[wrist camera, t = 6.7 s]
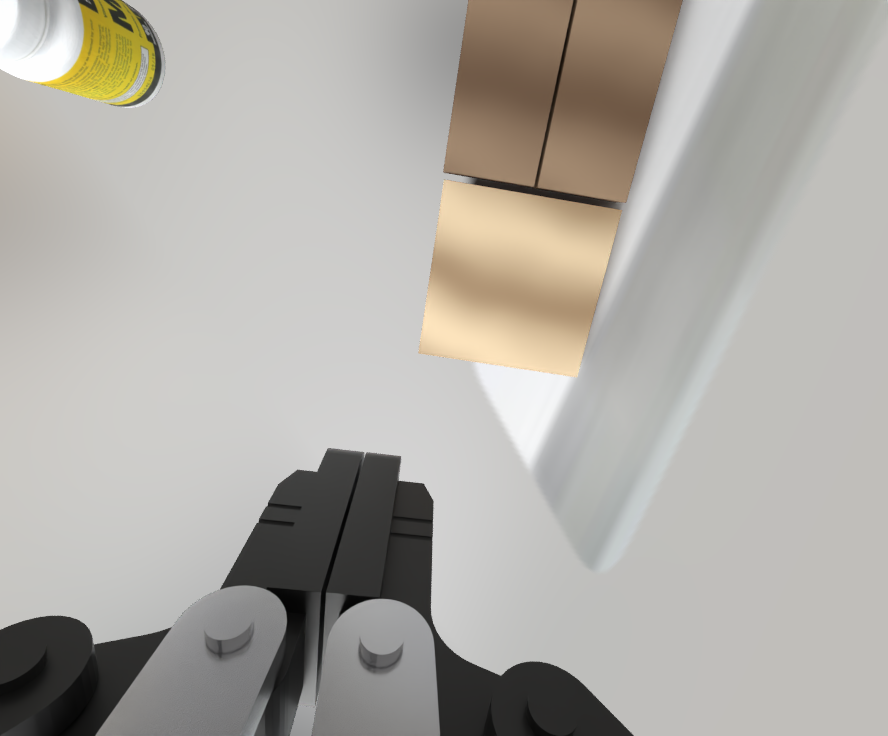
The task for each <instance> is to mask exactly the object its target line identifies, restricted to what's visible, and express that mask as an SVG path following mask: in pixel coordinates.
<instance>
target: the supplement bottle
mask: <svg viewBox="0 0 888 736" xmlns="http://www.w3.org/2000/svg"><path fill="white" fill-rule="evenodd" d="M0 69H2V70H4V71H5V72H7V73H9V74H11V75H14V76H16V77H18V78H21V79H23V80H27V81H30V82H34V83H38V84H41V85H45V86H48V87H52V88H55V89H59V90H63V91H66V92H70V93H73V94H76V95H80V96H83V97H87V98H90V99H93V100H96V101H100V102H104V103H107V104H110V105H114V106H119V107H125V108H134V107H139V106H142V105H144V104H146V103H148V102H149V101H151V100H152V99H153V98H154V97H155V96H156V95H157V93H158V92H159V90H160V88H161V86H162V84H163V80H164V75H165V57H164V52H163V48H162V45H161V43H160V40H159V38H158V36H157V34H156V32H155V31H154V29H153V27H152V26H151V25H150V24H149V22H148V21H147V20H146V19H145V18H144V17H143V16H142V15H141V14H140V13H139V12H138V11H137V10H135V9H134V8H133V7H131V6H130V5H128V4H126V3H125V2H124V1H122V0H0Z"/></svg>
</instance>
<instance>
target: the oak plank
mask: <svg viewBox="0 0 888 736" xmlns="http://www.w3.org/2000/svg"><path fill="white" fill-rule="evenodd" d="M621 213H622V210H618V209H612V208H606V207H601V206H595V205H589V204H583V203H577V202H572V201H566V200H560V199H554V198H548V197H543V196H537V195H531V194H525V193H519V192H514V191H508V190H502V189H496V188H490V187H485V186H479V185H473V184H467V183H461V182H456V181H450V180H444V184H443V191H442V197H441V204H440V212H439V218H438V224H437V232H436V238H435V245H434V252H433V258H432V265H431V272H430V278H429V285H428V292H427V299H426V305H425V312H424V319H423V326H422V333H421V339H420V346H419V354H426V355H433V356H439V357H446V358H453V359H459V360H466V361H472V362H479V363H486V364H492V365H499V366H506V367H512V368H519V369H525V370H532V371H539V372H545V373H552V374H559V375H565V376H572V377H577V375H578V371H579V368H580V364H581V360H582V357H583V353H584V349H585V346H586V342H587V338H588V335H589V331H590V327H591V323H592V320H593V316H594V312H595V309H596V305H597V301H598V298H599V294H600V290H601V286H602V283H603V279H604V275H605V272H606V268H607V264H608V261H609V257H610V253H611V250H612V246H613V242H614V238H615V235H616V231H617V227H618V224H619V220H620V216H621Z"/></svg>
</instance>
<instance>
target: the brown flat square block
mask: <svg viewBox="0 0 888 736" xmlns="http://www.w3.org/2000/svg"><path fill="white" fill-rule="evenodd" d="M682 1H683V0H468V7H467V14H466V20H465V27H464V34H463V41H462V48H461V54H460V61H459V68H458V75H457V82H456V89H455V95H454V102H453V109H452V116H451V123H450V130H449V136H448V143H447V150H446V157H445V164H444V171H443V172H444V173H449V174H455V175H461V176H466V177H472V178H478V179H484V180H489V181H495V182H501V183H507V184H513V185H518V186H524V187H532V188H536V189H541V190H547V191H553V192H559V193H565V194H570V195H576V196H582V197H588V198H593V199H599V200H605V201H611V202H621V203H626V201H627V198H628V194H629V191H630V187H631V183H632V180H633V176H634V173H635V169H636V166H637V162H638V158H639V155H640V151H641V148H642V144H643V141H644V137H645V133H646V130H647V126H648V123H649V119H650V115H651V112H652V108H653V105H654V101H655V98H656V94H657V90H658V87H659V83H660V80H661V76H662V73H663V69H664V65H665V62H666V58H667V55H668V51H669V47H670V44H671V40H672V37H673V33H674V30H675V26H676V22H677V19H678V15H679V12H680V8H681V5H682Z"/></svg>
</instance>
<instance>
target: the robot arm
mask: <svg viewBox="0 0 888 736" xmlns="http://www.w3.org/2000/svg"><path fill="white" fill-rule="evenodd" d="M400 463H401V456H393V455H385V454H377V453H366V455H365V458H364V452H358V451H349V450H340V449H331V448H328V449H327V451H326V453H325V456H324V458H323V460H322V462H321V465H320V467H319V469H318V472H313V471H304V470H297V471H296V472H294V473H293V474H291V475H290V476H289V477H288V478H286V479H285V480H283V481H282V482H281V483H280V484H278V486H277V488H276V490H275V491H274V493H273V495H272V497H271V499H270V500H269V502H268V506H267V507H266V508H265V510H264V511H263V513H262V515H261V517H260V518H259V523H257V524H256V526H255V527H254V529H253V531H252V533H251V535H250V536H249V538H248V540H247V542H246V544H245V546H244V547H243V549H242V551H241V553H240V554H239V556H238V558H237V560H236V562H235V563H234V565H233V567H232V569H231V571H230V573H229V574H228V576H227V578H226V580H225V582H224V583H223V585H222V587H221V589H220V590H217V591H215V592H213V593H210V594H208V595H206V596H204V597H203V598H201V599H199V600H198V601H197V602H195V603H194V604H192V605H191V606H190V607H189V608H188V609H187V610H186V611H184V612H183V613H182V615H181V616H180V617H179V619H178V620H177V621H176V622H175V624H174V625H173V626H172V627H171V628H168V629H165V630H163V631H160V632H156V633H152V634H148V635H143V636H138V637H132V638H127V639H121V640H116V641H111V642H105V643H100V644H95V645H94V644H93V638H92V635H91V633H90V630H89V629H88V627H87V626H86V625H85V624H84V623H82V622H80V621H79V620H77V619H74V618H71V617H65V616H46V617H39V618H34V619H30V620H25V621H22V622H19V623H16V624H14V625H11V626H8V627H6V628H4V629H1V630H0V736H290V732H291V729H292V725H293V721H294V718H295V714H296V710H297V707H298V706H306V707H315V705H316V701H317V706H316V711H315V717H314V723H313V729H312V735H311V736H633V735H632V734H631V733H630V731H629V730H628V729H627V728H626V727H624V725H623V724H622V723H621V722H620V721H619V720H618V719H617V718H616V717H615V716H614V715H613V714H612V713H611V712H610V711H609V710H608V709H607V708H606V707H605V706H604V705H603V704H602V703H601V702H600V701H599V700H598V699H597V698H596V697H595V696H594V695H593V694H592V693H591V692H590V691H589V690H588V689H587V688H586V687H585V686H584V685H583V684H582V683H581V682H580V681H579V680H578V679H576V678H575V677H574V676H572V675H571V674H570V673H568V672H566V671H565V670H563V669H561V668H559V667H557V666H554V665H551V664H548V663H543V662H524V663H520V664H517V665H515V666H513V667H511V668H510V669H508V670H507V671H506V672H505V673H504V674H503V675H502V676H500V675H497V674H495V673H493V672H490V671H488V670H486V669H483V668H481V667H479V666H477V665H474V664H472V663H470V662H468V661H466V660H464V659H462V658H461V657H460V656H458V655H456V654H455V653H454V652H453V651H452V650H451V649H449V647H447V646H446V644H445V643H444V642H443V641H442V639H441V638H440V636H439V635H438V633H437V631H436V629H435V627H434V624H433V621H432V617H431V574H432V536H433V535H432V534H433V533H432V532H433V499H432V498H431V496H430V494H429V492H428V491H427V489H426V487H425V486H424V484H422V483H413V482H404V481H398V480H399V472H400ZM318 693H319V694H318ZM317 697H318V700H317Z"/></svg>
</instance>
